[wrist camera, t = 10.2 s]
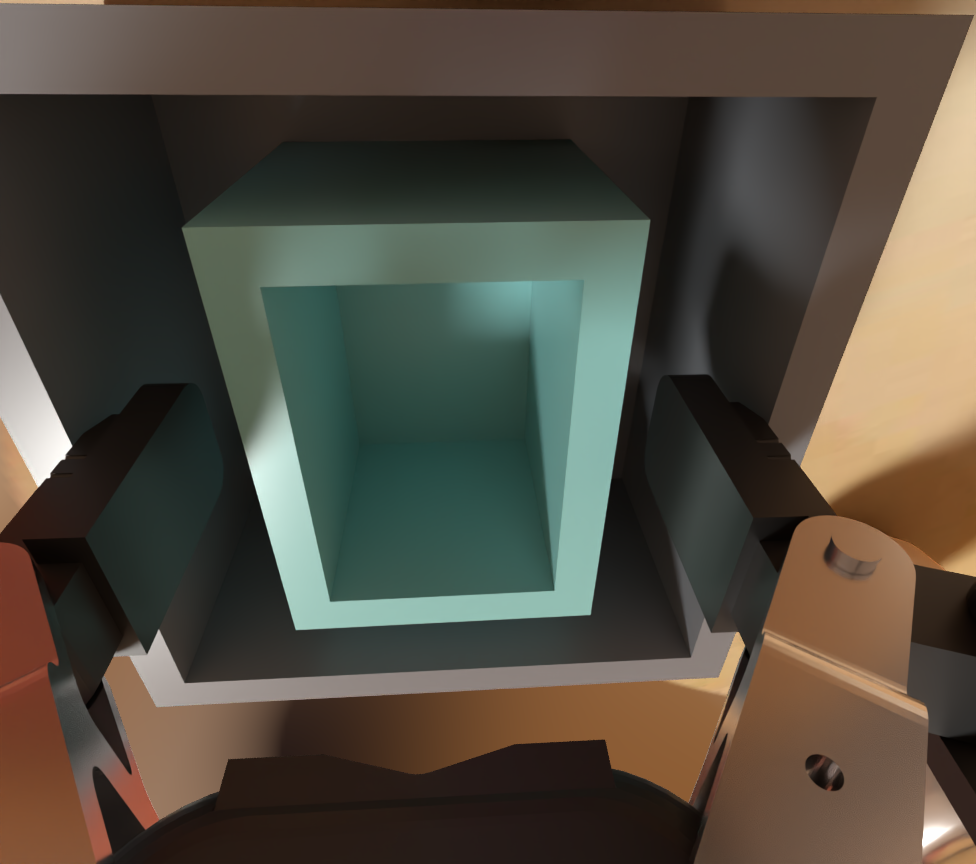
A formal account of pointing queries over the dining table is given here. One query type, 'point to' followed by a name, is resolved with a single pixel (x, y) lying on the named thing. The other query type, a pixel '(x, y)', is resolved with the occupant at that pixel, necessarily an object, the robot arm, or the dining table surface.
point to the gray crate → (436, 117)
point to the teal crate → (426, 370)
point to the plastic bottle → (940, 789)
